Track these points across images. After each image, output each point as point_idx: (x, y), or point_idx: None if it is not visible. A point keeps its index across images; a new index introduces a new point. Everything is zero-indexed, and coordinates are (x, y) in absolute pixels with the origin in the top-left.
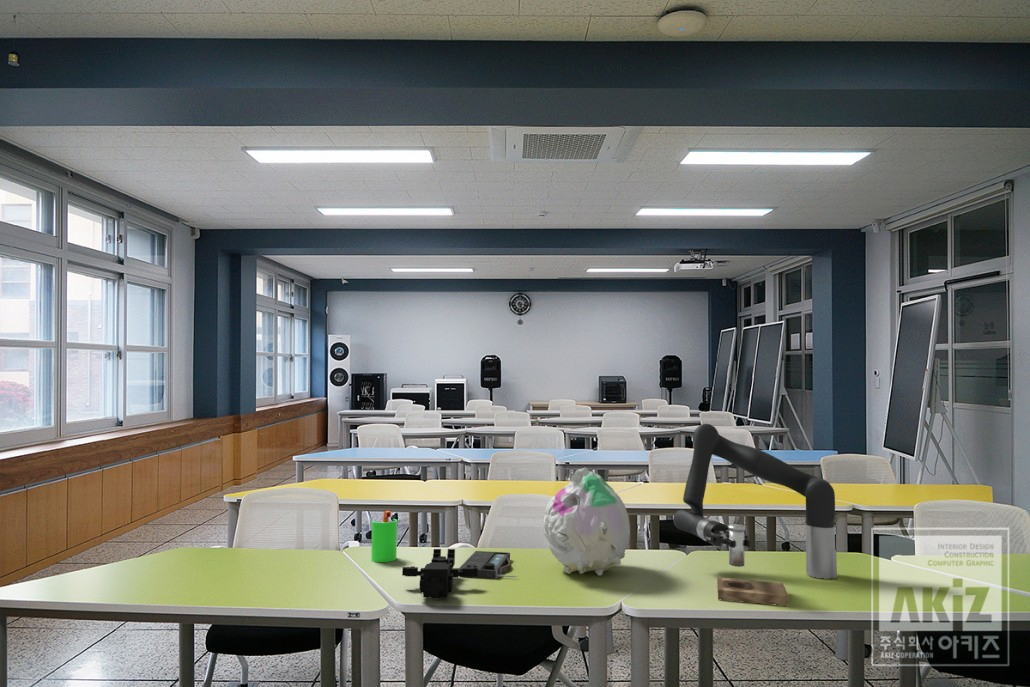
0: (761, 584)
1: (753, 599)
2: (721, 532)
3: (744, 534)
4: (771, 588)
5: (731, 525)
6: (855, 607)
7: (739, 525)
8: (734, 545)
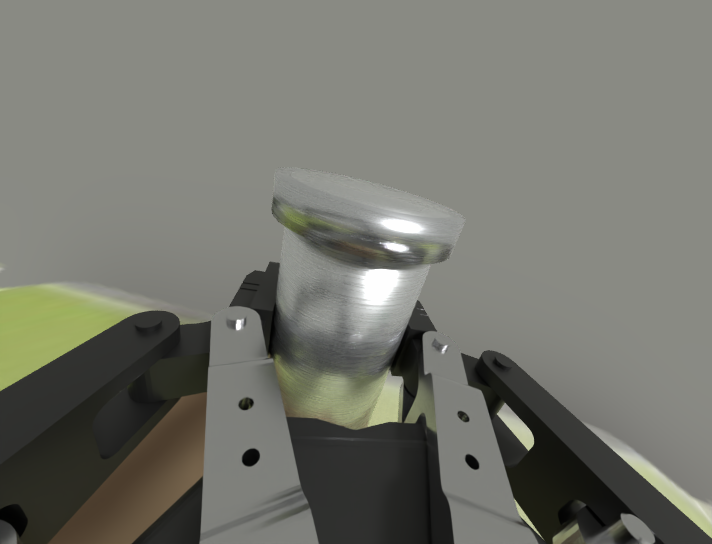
0: (147, 484)
1: None
2: (487, 504)
3: (47, 389)
4: (176, 411)
5: (423, 207)
6: (30, 304)
7: (330, 183)
8: None
